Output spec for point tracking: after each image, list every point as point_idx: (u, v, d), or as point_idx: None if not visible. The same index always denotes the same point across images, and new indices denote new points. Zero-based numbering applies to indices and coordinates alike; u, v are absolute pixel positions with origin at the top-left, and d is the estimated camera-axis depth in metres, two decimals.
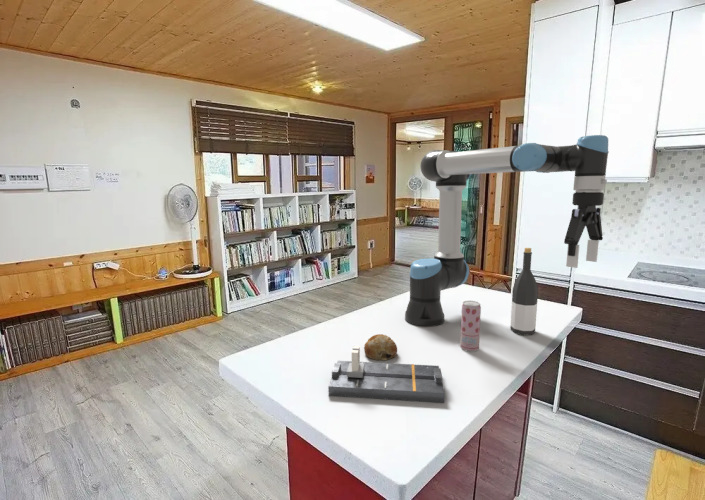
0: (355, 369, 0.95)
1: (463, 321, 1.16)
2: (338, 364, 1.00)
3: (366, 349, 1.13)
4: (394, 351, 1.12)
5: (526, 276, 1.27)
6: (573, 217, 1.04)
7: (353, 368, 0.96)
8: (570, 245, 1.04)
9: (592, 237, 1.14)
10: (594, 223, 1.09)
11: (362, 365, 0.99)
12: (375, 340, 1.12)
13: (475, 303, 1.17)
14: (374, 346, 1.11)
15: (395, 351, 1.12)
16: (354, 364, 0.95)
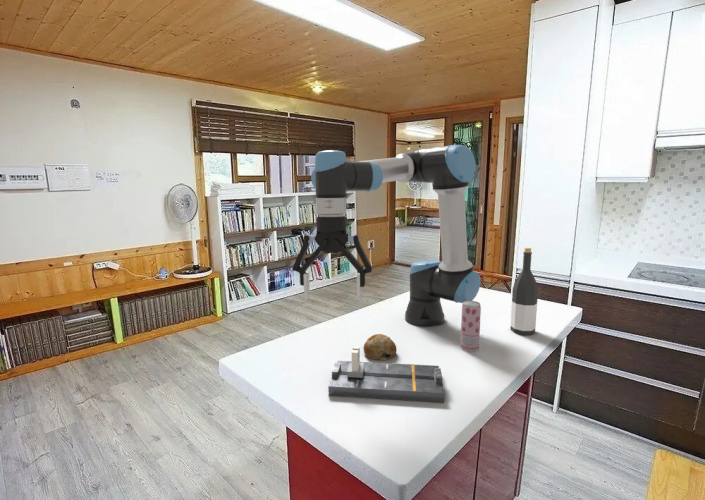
0: (355, 369, 0.95)
1: (463, 321, 1.16)
2: (338, 364, 1.00)
3: (365, 349, 1.13)
4: (393, 351, 1.12)
5: (526, 275, 1.27)
6: None
7: (353, 368, 0.96)
8: None
9: None
10: None
11: (362, 365, 0.99)
12: (374, 340, 1.13)
13: (475, 303, 1.17)
14: (374, 345, 1.11)
15: (394, 351, 1.13)
16: (354, 364, 0.95)
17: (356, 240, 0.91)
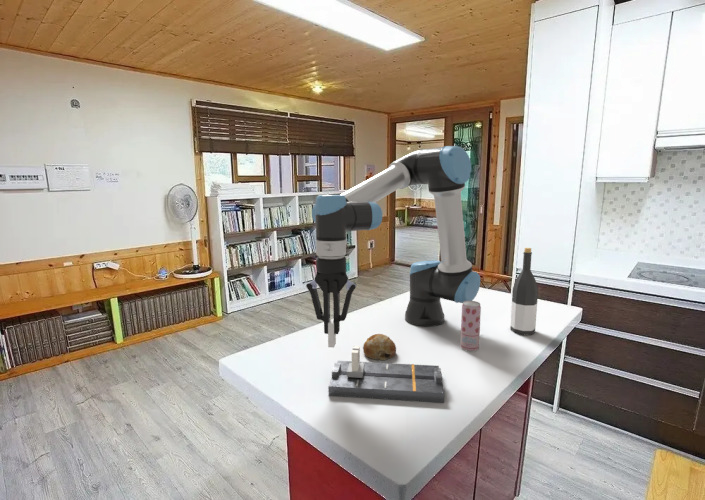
0: (355, 369, 0.95)
1: (463, 321, 1.16)
2: (338, 364, 1.00)
3: (365, 349, 1.13)
4: (393, 351, 1.12)
5: (526, 275, 1.27)
6: None
7: (353, 368, 0.96)
8: None
9: None
10: None
11: (362, 365, 0.99)
12: (374, 340, 1.13)
13: (475, 303, 1.17)
14: (373, 345, 1.11)
15: (394, 351, 1.13)
16: (354, 364, 0.95)
17: (351, 289, 0.93)
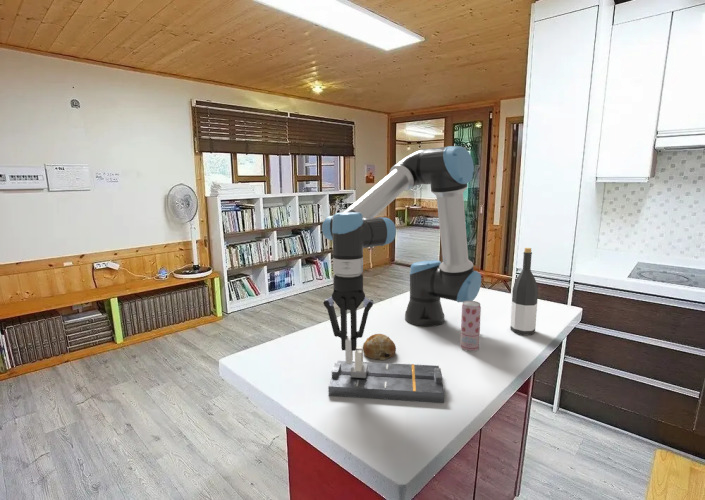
0: (358, 369, 0.95)
1: (463, 321, 1.16)
2: (338, 364, 1.00)
3: (365, 348, 1.13)
4: (393, 351, 1.12)
5: (526, 276, 1.27)
6: None
7: (356, 368, 0.95)
8: None
9: None
10: None
11: (365, 365, 0.98)
12: (374, 339, 1.13)
13: (475, 303, 1.17)
14: (373, 345, 1.11)
15: (394, 351, 1.13)
16: (357, 364, 0.95)
17: (369, 306, 0.93)
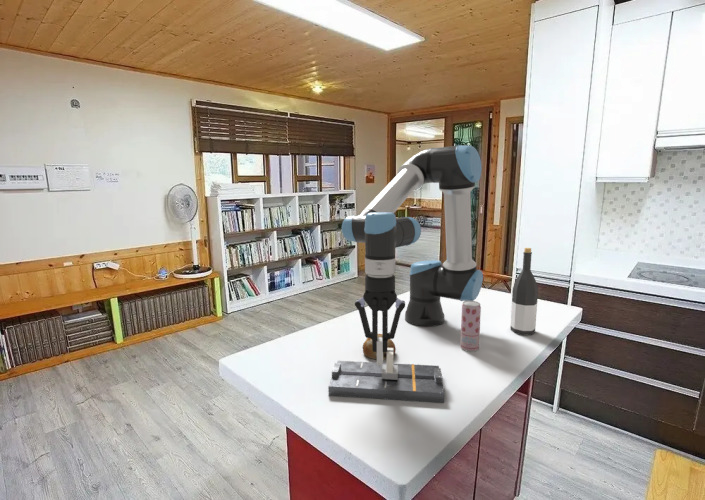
0: (390, 371, 0.94)
1: (463, 321, 1.16)
2: (338, 364, 1.00)
3: (364, 348, 1.13)
4: None
5: (526, 276, 1.27)
6: None
7: (388, 370, 0.94)
8: (372, 339, 0.96)
9: None
10: (382, 313, 0.93)
11: (396, 367, 0.97)
12: None
13: (475, 303, 1.17)
14: None
15: (393, 350, 1.13)
16: (389, 366, 0.94)
17: (401, 307, 0.92)
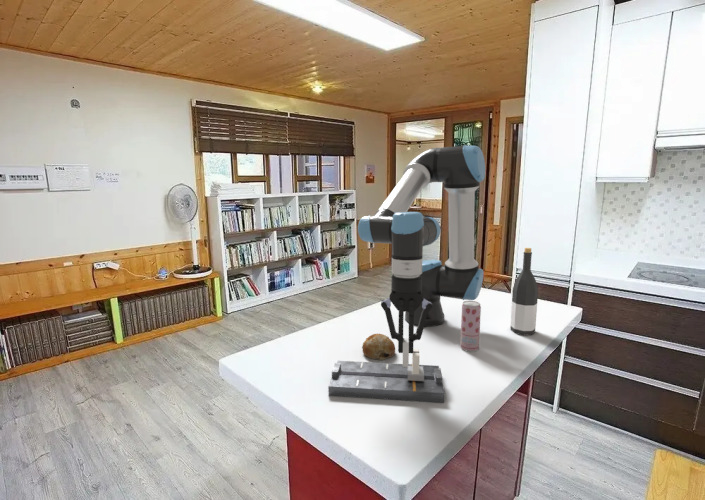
0: (416, 372, 0.93)
1: (463, 321, 1.16)
2: (338, 364, 1.00)
3: (364, 348, 1.13)
4: (392, 350, 1.13)
5: (526, 276, 1.27)
6: None
7: (414, 371, 0.94)
8: (398, 340, 0.95)
9: None
10: (409, 314, 0.92)
11: (421, 368, 0.97)
12: (373, 339, 1.13)
13: (475, 303, 1.17)
14: (372, 345, 1.12)
15: (393, 350, 1.13)
16: (415, 367, 0.93)
17: (428, 308, 0.91)
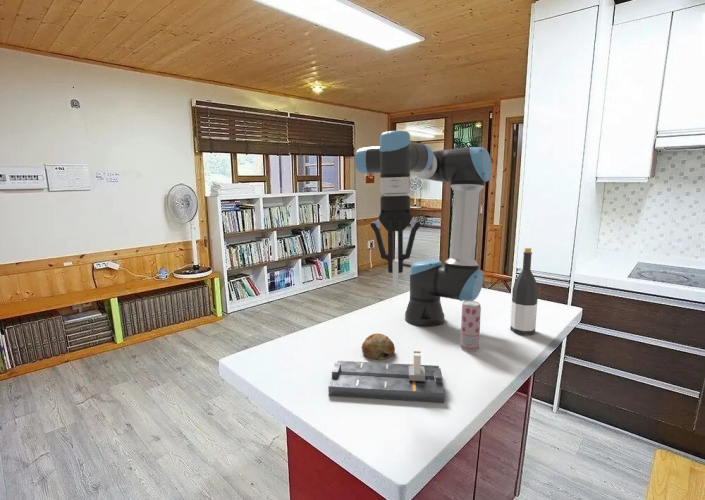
0: (417, 372, 0.93)
1: (463, 321, 1.16)
2: (338, 364, 1.00)
3: (364, 348, 1.14)
4: (391, 350, 1.13)
5: (526, 276, 1.27)
6: None
7: (415, 371, 0.93)
8: (388, 261, 0.98)
9: None
10: (398, 233, 0.95)
11: (422, 368, 0.96)
12: (373, 339, 1.13)
13: (475, 303, 1.17)
14: (372, 345, 1.12)
15: (392, 350, 1.13)
16: (416, 367, 0.93)
17: (416, 226, 0.94)
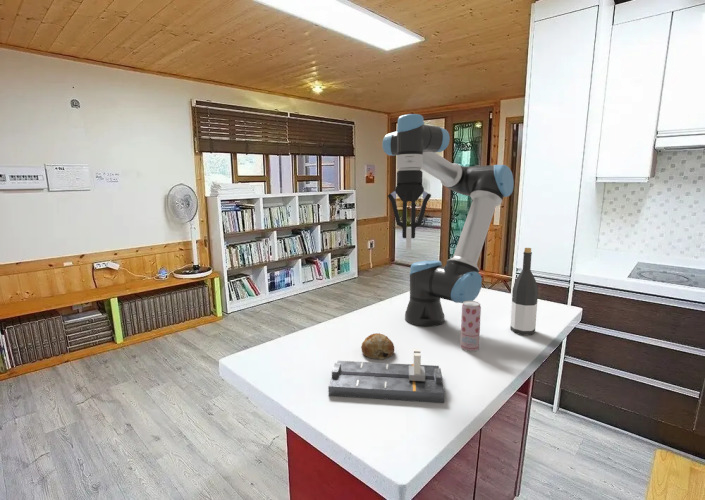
0: (417, 372, 0.93)
1: (463, 321, 1.16)
2: (338, 364, 1.00)
3: (363, 348, 1.14)
4: (391, 350, 1.13)
5: (526, 276, 1.27)
6: None
7: (415, 371, 0.93)
8: (402, 228, 1.13)
9: None
10: (411, 203, 1.10)
11: (422, 368, 0.96)
12: (372, 339, 1.13)
13: (475, 303, 1.17)
14: (371, 345, 1.12)
15: (392, 350, 1.13)
16: (416, 367, 0.93)
17: (428, 197, 1.09)
